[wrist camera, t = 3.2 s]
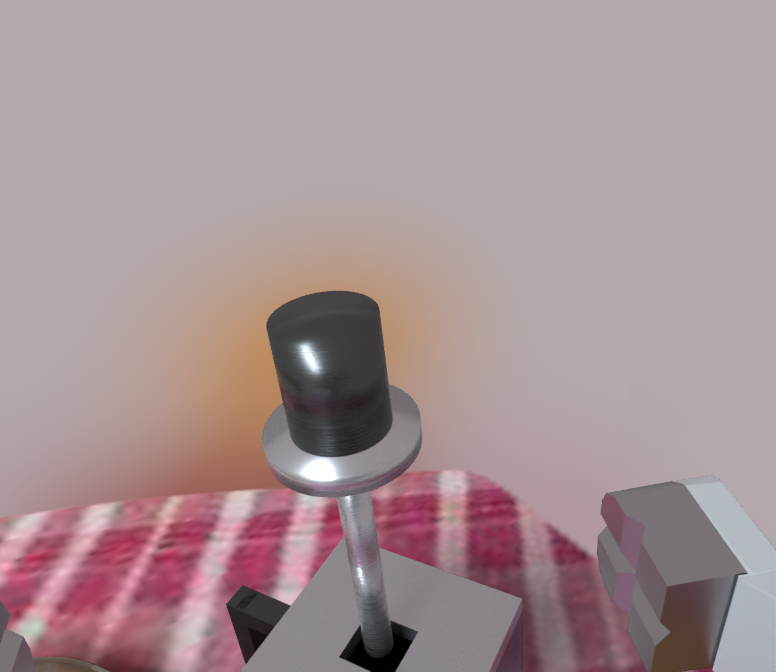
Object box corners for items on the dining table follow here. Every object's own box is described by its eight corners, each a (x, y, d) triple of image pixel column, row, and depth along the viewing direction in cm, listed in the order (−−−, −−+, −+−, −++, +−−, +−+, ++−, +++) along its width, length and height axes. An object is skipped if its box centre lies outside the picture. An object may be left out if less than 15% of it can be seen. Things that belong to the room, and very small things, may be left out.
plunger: (463, 617, 29) (438, 290, 21) (405, 728, 25) (351, 378, 18) (357, 576, 31) (302, 270, 24) (290, 672, 28) (199, 344, 20)
